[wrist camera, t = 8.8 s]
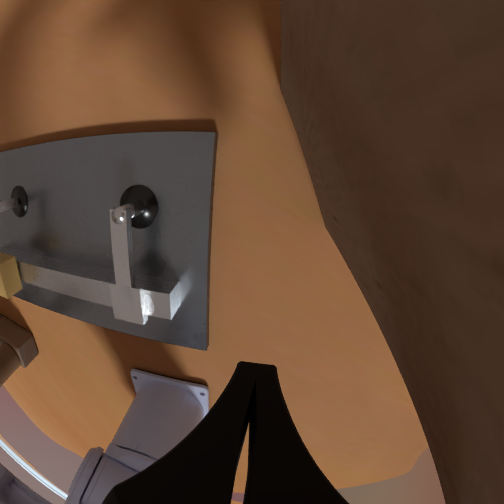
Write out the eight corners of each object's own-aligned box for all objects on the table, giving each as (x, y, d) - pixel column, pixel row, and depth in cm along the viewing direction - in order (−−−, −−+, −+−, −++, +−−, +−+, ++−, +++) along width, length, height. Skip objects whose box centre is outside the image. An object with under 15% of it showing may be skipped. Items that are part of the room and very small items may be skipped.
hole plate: (208, 344, 22) (198, 373, 18) (9, 289, 23) (-9, 302, 20) (218, 133, 16) (203, 128, 13) (-9, 155, 18) (-32, 159, 14)
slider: (34, 280, 20) (7, 299, 17) (18, 275, 20) (-7, 292, 17) (21, 197, 17) (-11, 208, 14) (6, 197, 18) (-24, 207, 14)
